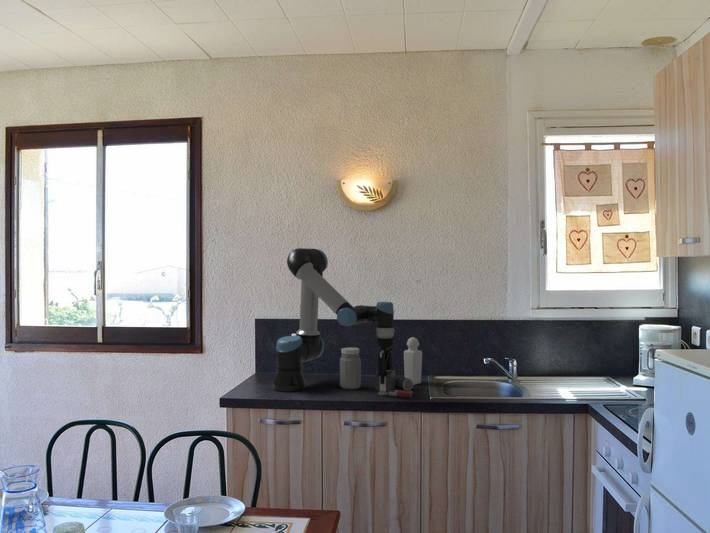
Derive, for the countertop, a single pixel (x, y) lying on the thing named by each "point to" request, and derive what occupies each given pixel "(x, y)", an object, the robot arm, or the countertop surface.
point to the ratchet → (396, 393)
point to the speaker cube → (389, 380)
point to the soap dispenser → (413, 361)
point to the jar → (350, 368)
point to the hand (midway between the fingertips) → (385, 389)
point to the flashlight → (403, 383)
